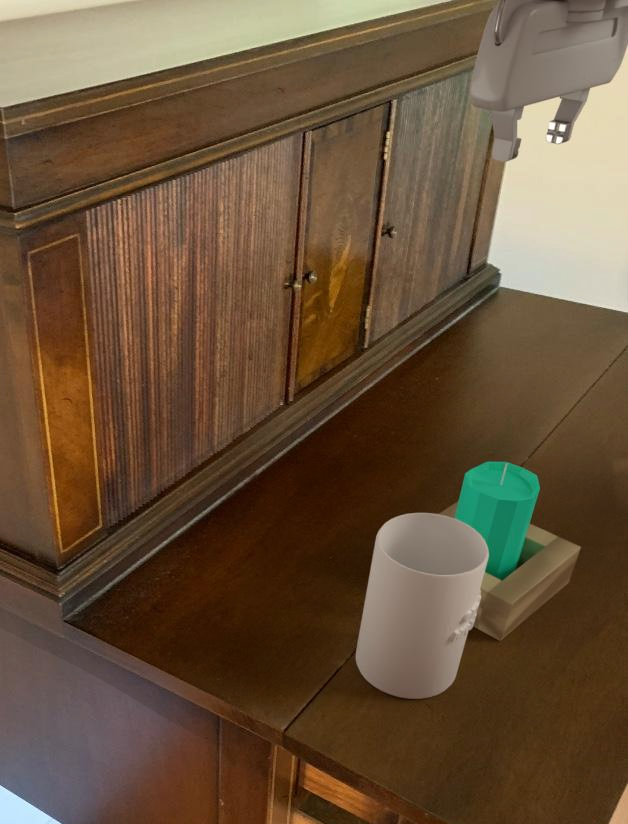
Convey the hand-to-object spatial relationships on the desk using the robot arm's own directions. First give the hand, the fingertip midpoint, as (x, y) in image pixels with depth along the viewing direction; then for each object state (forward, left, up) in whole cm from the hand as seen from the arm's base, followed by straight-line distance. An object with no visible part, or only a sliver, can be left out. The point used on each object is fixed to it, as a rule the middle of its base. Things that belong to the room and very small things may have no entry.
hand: (531, 150), depth 85 cm
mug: (-17, +35, -29) cm, 49 cm away
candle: (-16, +23, -29) cm, 40 cm away
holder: (-16, +23, -29) cm, 40 cm away
